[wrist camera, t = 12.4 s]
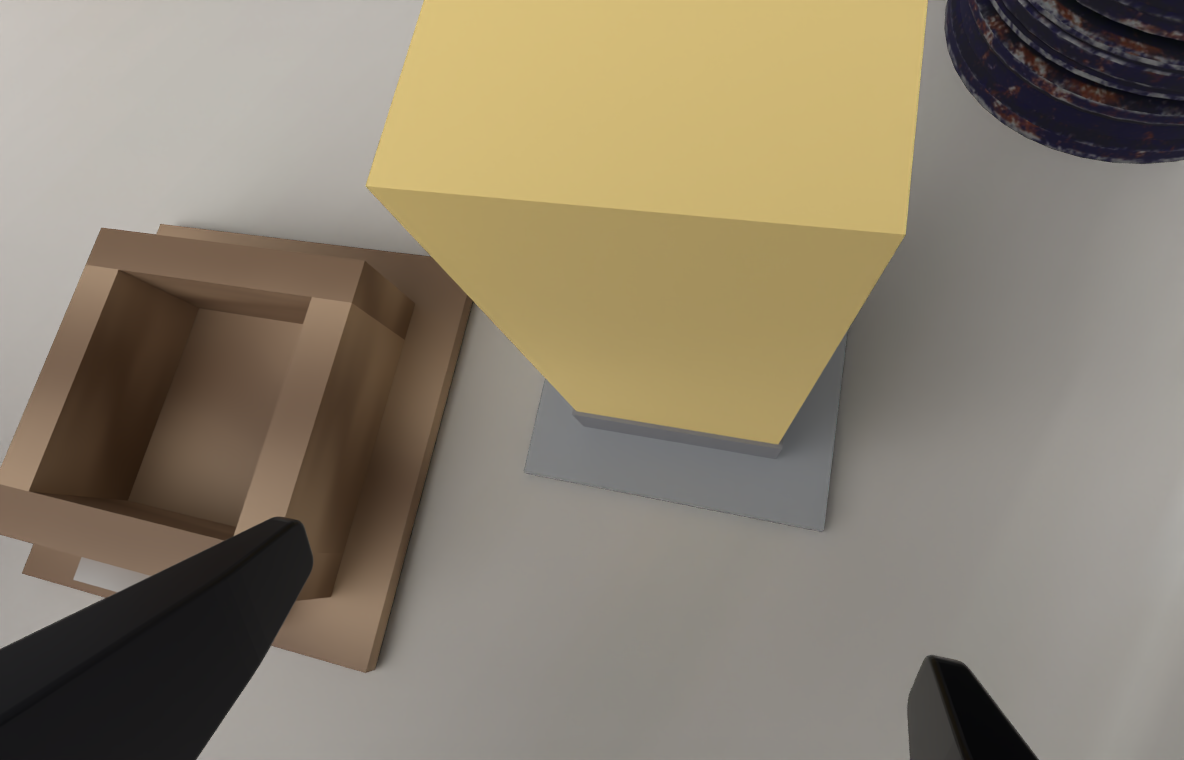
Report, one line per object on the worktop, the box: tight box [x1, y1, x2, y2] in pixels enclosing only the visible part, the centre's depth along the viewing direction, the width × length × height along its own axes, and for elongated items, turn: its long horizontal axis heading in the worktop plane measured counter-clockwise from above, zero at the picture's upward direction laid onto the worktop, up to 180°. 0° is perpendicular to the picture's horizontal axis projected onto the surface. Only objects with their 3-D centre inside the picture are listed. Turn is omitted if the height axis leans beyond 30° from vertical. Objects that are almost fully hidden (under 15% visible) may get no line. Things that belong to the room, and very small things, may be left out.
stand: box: [524, 330, 848, 532], centre depth 18 cm, size 8×8×1 cm
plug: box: [366, 0, 928, 459], centre depth 12 cm, size 5×5×12 cm
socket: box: [0, 224, 473, 673], centre depth 18 cm, size 12×12×4 cm
